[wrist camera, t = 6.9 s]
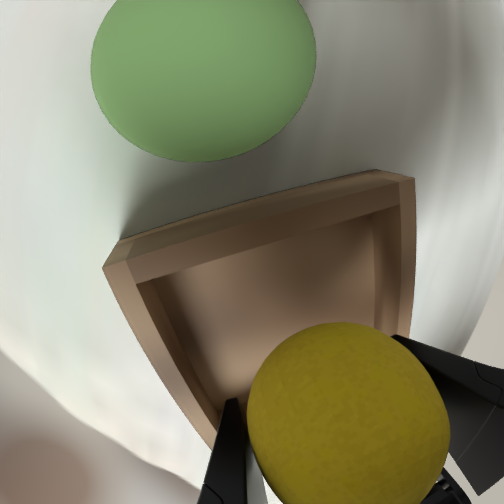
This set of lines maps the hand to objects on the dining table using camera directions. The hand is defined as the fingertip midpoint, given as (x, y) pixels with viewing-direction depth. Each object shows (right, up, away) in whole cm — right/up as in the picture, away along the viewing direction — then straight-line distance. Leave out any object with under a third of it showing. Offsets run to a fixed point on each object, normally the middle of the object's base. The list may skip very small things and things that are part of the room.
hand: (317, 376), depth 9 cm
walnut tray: (-1, +2, +4) cm, 4 cm away
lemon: (0, +1, +2) cm, 2 cm away
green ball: (-4, +10, -1) cm, 11 cm away
